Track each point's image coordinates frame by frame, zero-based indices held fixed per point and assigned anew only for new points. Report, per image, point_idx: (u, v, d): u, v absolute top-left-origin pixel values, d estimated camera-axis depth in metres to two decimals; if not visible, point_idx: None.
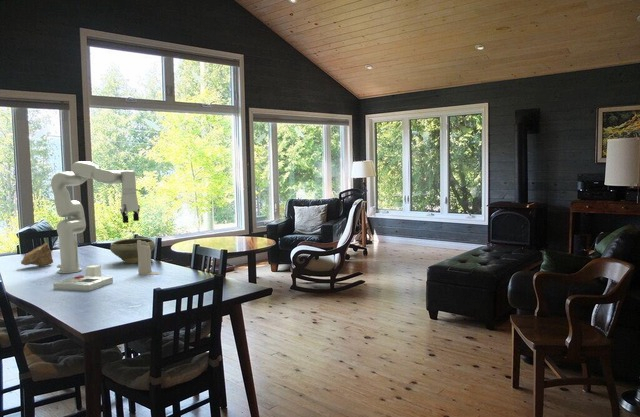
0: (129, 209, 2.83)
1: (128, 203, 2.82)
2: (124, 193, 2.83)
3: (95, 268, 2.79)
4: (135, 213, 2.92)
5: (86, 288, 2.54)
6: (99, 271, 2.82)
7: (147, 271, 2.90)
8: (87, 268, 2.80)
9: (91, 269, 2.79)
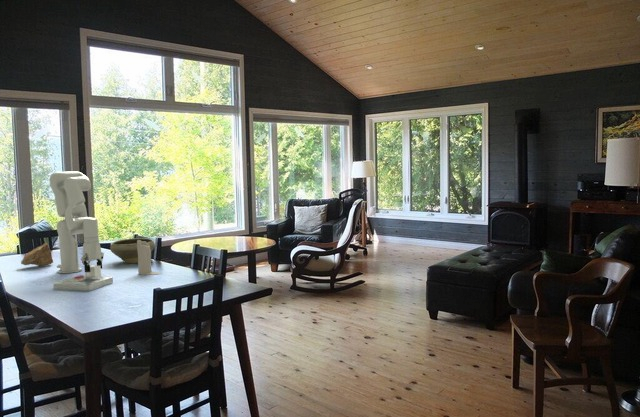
0: (91, 258, 2.77)
1: (89, 251, 2.76)
2: (86, 242, 2.77)
3: (95, 268, 2.79)
4: (98, 261, 2.86)
5: (86, 288, 2.54)
6: (99, 271, 2.82)
7: (147, 271, 2.90)
8: None
9: (91, 269, 2.79)
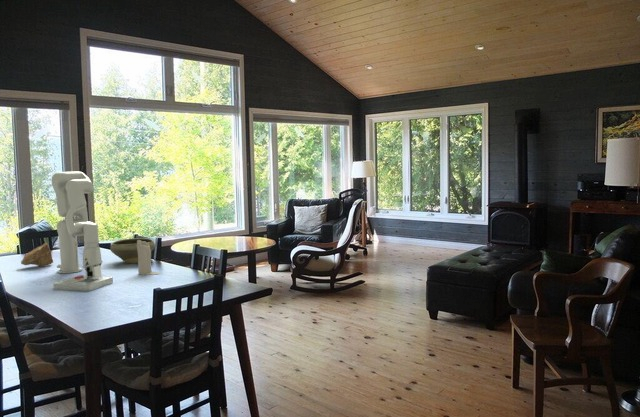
0: (91, 263, 2.77)
1: (89, 257, 2.76)
2: (86, 247, 2.77)
3: (95, 268, 2.79)
4: None
5: (86, 288, 2.54)
6: (99, 271, 2.82)
7: (147, 271, 2.90)
8: None
9: None
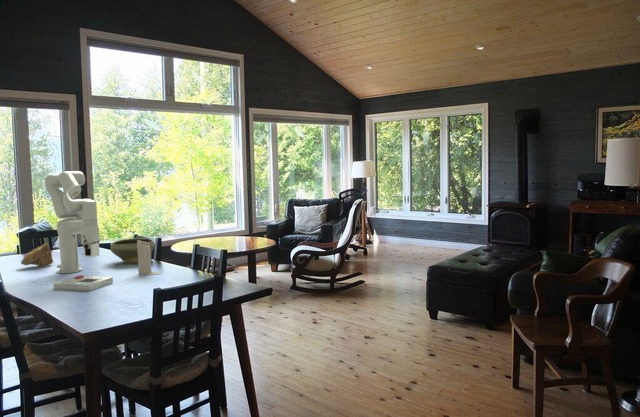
0: (89, 240, 2.76)
1: (88, 234, 2.75)
2: (84, 224, 2.76)
3: (93, 245, 2.78)
4: None
5: (86, 288, 2.54)
6: (97, 248, 2.82)
7: (147, 271, 2.90)
8: None
9: None
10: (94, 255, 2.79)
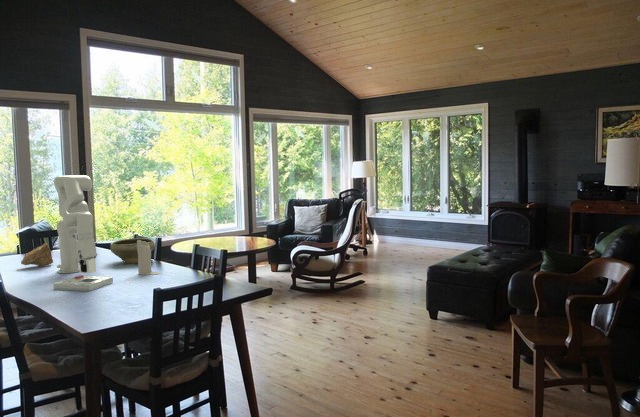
0: (85, 256, 2.59)
1: (83, 249, 2.58)
2: (79, 238, 2.59)
3: (89, 261, 2.60)
4: None
5: (86, 288, 2.54)
6: (94, 264, 2.64)
7: (147, 271, 2.90)
8: None
9: None
10: (90, 271, 2.61)
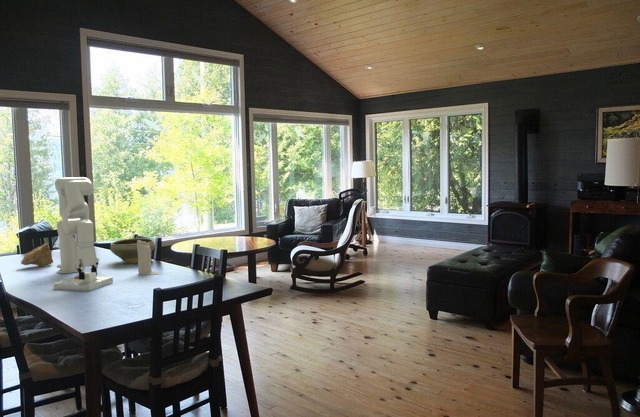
0: (85, 264, 2.59)
1: (84, 257, 2.58)
2: (80, 247, 2.59)
3: (90, 275, 2.61)
4: (93, 267, 2.68)
5: (86, 288, 2.54)
6: (94, 278, 2.64)
7: (147, 271, 2.90)
8: None
9: (86, 276, 2.61)
10: None
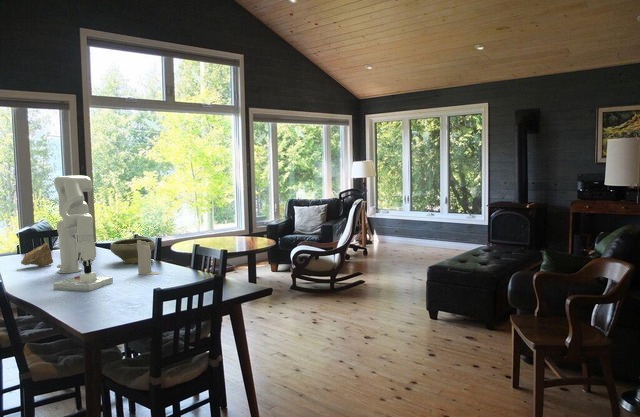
0: (85, 258, 2.59)
1: (83, 251, 2.58)
2: (79, 240, 2.59)
3: (90, 275, 2.61)
4: (87, 263, 2.64)
5: (86, 288, 2.54)
6: (94, 278, 2.64)
7: (147, 271, 2.90)
8: (82, 275, 2.62)
9: (86, 276, 2.61)
10: None
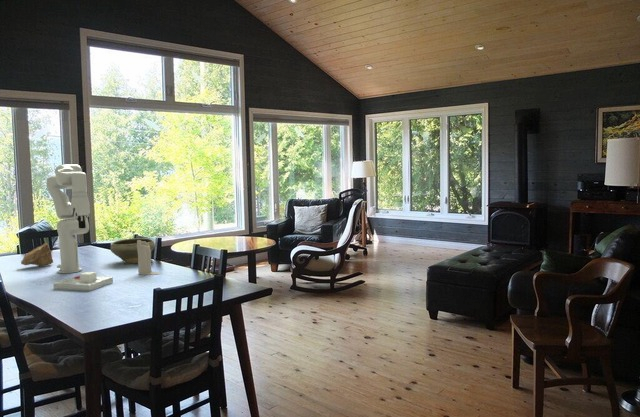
0: (79, 213, 2.71)
1: (78, 206, 2.70)
2: (74, 196, 2.71)
3: (90, 275, 2.61)
4: None
5: (86, 288, 2.54)
6: (94, 278, 2.64)
7: (147, 271, 2.90)
8: (82, 275, 2.62)
9: (86, 276, 2.61)
10: None
